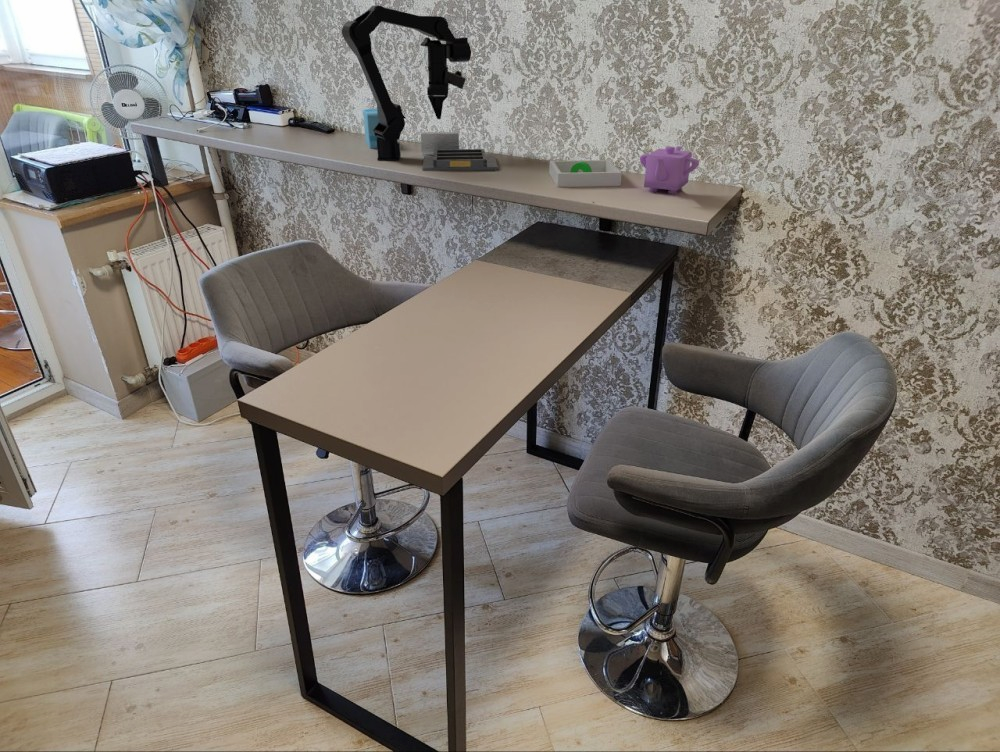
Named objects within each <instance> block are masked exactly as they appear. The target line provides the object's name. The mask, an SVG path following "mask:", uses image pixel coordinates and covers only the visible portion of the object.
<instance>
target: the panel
mask: <svg viewBox="0 0 1000 752" xmlns="http://www.w3.org/2000/svg"><path fill="white" fill-rule="evenodd" d="M420 146H421V148H420V149H421V156H434V150H450V149H460V134H459V131H455V132H454V131H452V132H451V131H450V132H449V131H446V132H445V131H442V132H440V131H439V132H420Z"/></svg>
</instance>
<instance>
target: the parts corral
mask: <svg viewBox="0 0 1000 752" xmlns="http://www.w3.org/2000/svg"><path fill="white" fill-rule="evenodd" d="M579 162H586V163H587V164H589V166H590V167H591V169H592V172H583V171H582V170H581V169H579V171H578V173H570V171H571V168H572V167H573V165H575V164H577V163H579ZM548 172H549V175H550V177H551V178H552V180H553V183H555V185H556V187H557V188H571V187H573V188H576V187H577V188H579V187H581V188H583V187H584V188H585V187H587V188H588V187H589V188H590V187H621V185H622V175H623V174H622V172H621V170H619V168H618V167H616V166H615V165H614V164H613V163H612V162H611V161H610V160H608V159H595V160H593V159H592V160H591V159H590V160H585V159H584V160H580V159H579V160H549V169H548Z"/></svg>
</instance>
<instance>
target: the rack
mask: <svg viewBox="0 0 1000 752" xmlns="http://www.w3.org/2000/svg"><path fill="white" fill-rule="evenodd" d="M421 169H422V171H424V172H425V171H427V172H428V171H429V172H430V171H434V172H435V171H436V172H438V171H441V172H443V171H446V172H450V171H451V172H455V171H456V172H467V171H468V172H472V171H473V172H474V171H475V172H479V171H483V172H485V171H499V166H498V163H497V159H496V156H495V155H491V154H489V155H486V151H485V148H473V149H472V148H470V149H469V148H468V149H466V148H464V149H460V148H459V149H450V150H434V155H423V162H422V168H421Z"/></svg>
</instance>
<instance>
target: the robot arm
mask: <svg viewBox="0 0 1000 752" xmlns="http://www.w3.org/2000/svg"><path fill="white" fill-rule="evenodd" d="M380 23H385V24H389V25H395V26H399V27H403V28H406V29H412V30H415V31H417V32H418V33H420V34H421V35H424V36H426V37H425V38H424V40H422V42H421V43H420V46H421V47H426V49H427V71H428V86H427V89H426V91H427V93H426V94H427V98H428V100H429V103H430V105H431V106H432V110H433V111H434V115H435V117H436V119H437V120H441V119H442V113H443V108H444V107H443V106H444V102H445V100H446V99H447V98H448V97H449V90H450V89H449V87H450V85H451V86H454V87H457V88H458V89H460V90H463V89H464V86H465V83H466V80H467V79H466V77H465V76H463V75H462V74H463V73H462V71H459V70H456V71H455V72H451V71H449V66H448V61H449V62H450V63H464V62H465V63H466V62H470V59H471V58H472V50H471V46H470V45H471V44H469V42H468V37H465V36H464V37H462V36H461V37H457V38H456V37H455V36H454V34H453V32H452V31H451V29H450V28H449V23H448V20H447V18H445V17H443V16H438V15H417V14H412V13H409V12H406V11H405V12H404V11H400V10H396V9H391V8H387V7H384V6H383V5H372V6H370V7H369V8H368V9H367V10H366V11H365V12H363V13H362V14H361V15H359V16H357V17H356V18H355V19H354V20H350V21H349V20H348V21H346V22H345V23H344V24H343V25H342V29H341V35H342V37H343V40H344V41H345V43H346V44H347V46H348V47H349V49H350V50H351V52H352V53H353V55H355V57H356V58H357V60H358V63H359V65H360V68H361V70H362V72H363V74H364V77H365V79H366V81H367V85H368V86H369V89H370V91H371V94H372V96H373V99H374V101H375V103H376V109H377V114H378V118H379V123H378V124H377V126H376V127H375V128H374V129H373V132H374V135H375V137H377V148H376V149H377V160H376V161H399V159H400V158H401V154H402V153H401V142H399V140H400V137H401V134H402V132H403V130H404V128H405V125H406V121H405V119H407V117H406V116H405V115H404V114H403V110H402V106H401V105H400V104H397V103H394V102H393V101H392V99H391V97H390V94H389V92H388V89H387V87H386V85H385V82H384V79H383V77H382V75H381V71H380V70H379V67H378V65H377V62H376V60H375V58H374V55H373V51H372V40H371V35H370V34H371V33H373V32H374V31H375V30H376V28H378V26H379V25H380ZM431 38H434V39H431ZM441 41H442V42H445V43H442V42H441Z"/></svg>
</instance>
